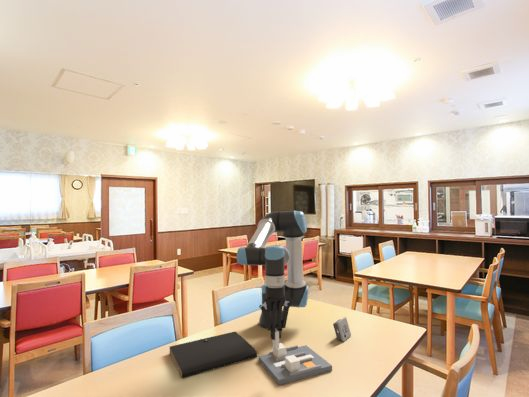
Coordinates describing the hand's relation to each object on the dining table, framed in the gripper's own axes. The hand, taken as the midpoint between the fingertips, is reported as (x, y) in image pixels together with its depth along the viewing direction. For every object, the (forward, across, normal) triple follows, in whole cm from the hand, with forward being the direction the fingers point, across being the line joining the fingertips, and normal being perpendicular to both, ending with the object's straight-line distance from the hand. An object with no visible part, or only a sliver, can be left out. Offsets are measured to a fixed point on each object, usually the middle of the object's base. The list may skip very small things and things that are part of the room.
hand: (275, 347), depth 117 cm
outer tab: (+10, +7, 0) cm, 12 cm away
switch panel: (+12, +11, +6) cm, 18 cm away
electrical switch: (+12, +46, +19) cm, 52 cm away
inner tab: (+10, +8, +12) cm, 18 cm away
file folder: (+13, -18, +30) cm, 37 cm away
